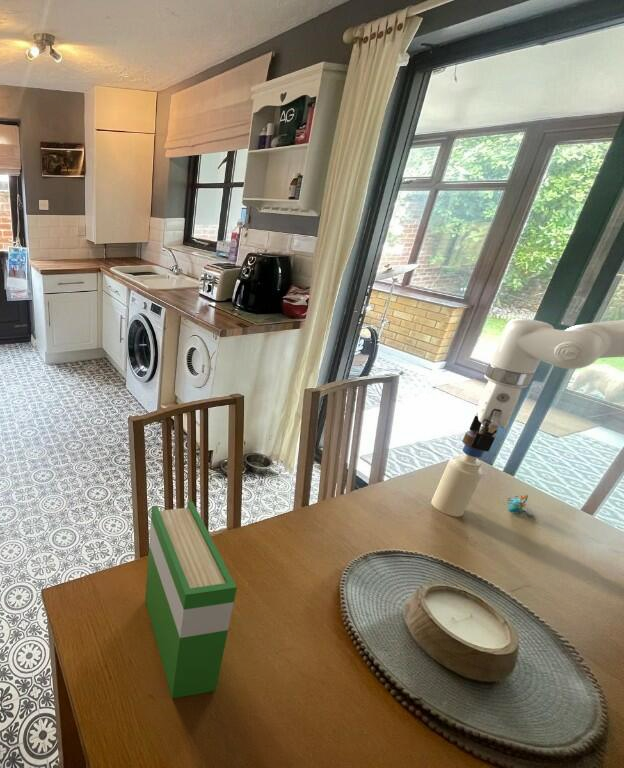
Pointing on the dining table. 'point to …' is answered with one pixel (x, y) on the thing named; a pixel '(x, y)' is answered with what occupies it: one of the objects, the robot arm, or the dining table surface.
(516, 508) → the dragon figurine
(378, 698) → the dining table surface
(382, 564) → the dining table surface
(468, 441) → the chip
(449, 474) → the bottle
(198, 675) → the hardback book
